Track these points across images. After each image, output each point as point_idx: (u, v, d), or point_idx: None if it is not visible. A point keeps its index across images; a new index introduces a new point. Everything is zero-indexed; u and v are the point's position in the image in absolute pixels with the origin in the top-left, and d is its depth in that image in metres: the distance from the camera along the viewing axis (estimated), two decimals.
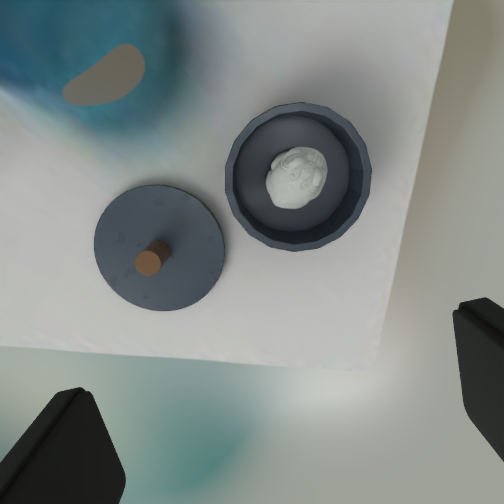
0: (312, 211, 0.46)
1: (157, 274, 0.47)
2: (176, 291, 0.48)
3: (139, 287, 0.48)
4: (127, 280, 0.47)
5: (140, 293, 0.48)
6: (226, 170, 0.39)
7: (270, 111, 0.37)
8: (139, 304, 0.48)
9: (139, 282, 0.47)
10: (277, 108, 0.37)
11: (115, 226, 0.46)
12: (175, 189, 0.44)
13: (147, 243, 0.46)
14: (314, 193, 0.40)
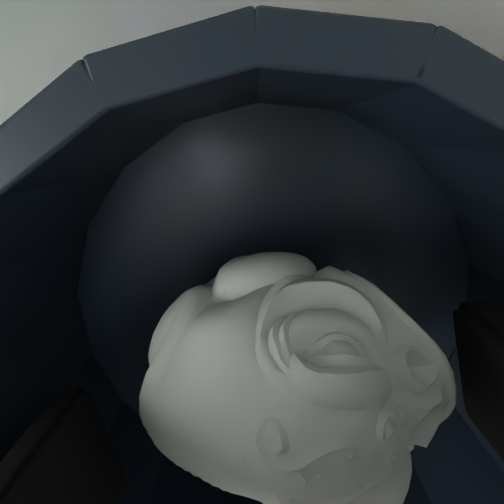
0: None
1: None
2: None
3: None
4: None
5: None
6: None
7: (391, 32, 0.05)
8: None
9: None
10: (441, 44, 0.05)
11: None
12: None
13: None
14: None
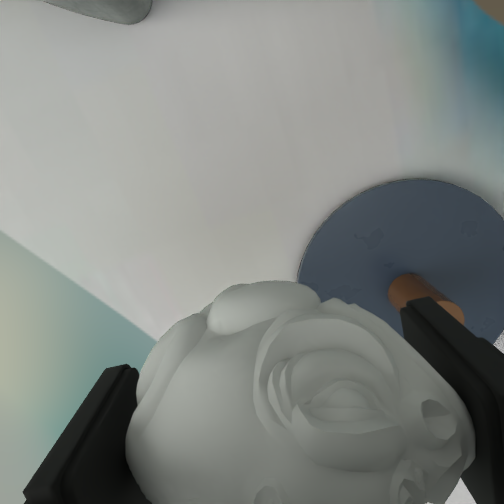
0: None
1: None
2: None
3: None
4: None
5: None
6: None
7: None
8: None
9: None
10: None
11: (380, 217, 0.26)
12: None
13: (401, 271, 0.27)
14: None
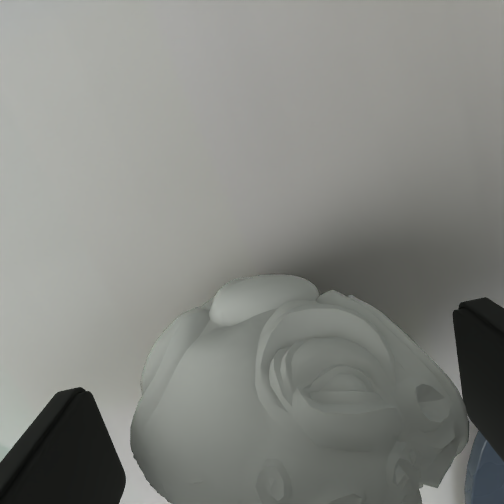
0: None
1: None
2: None
3: None
4: None
5: None
6: None
7: None
8: None
9: None
10: None
11: None
12: None
13: None
14: None
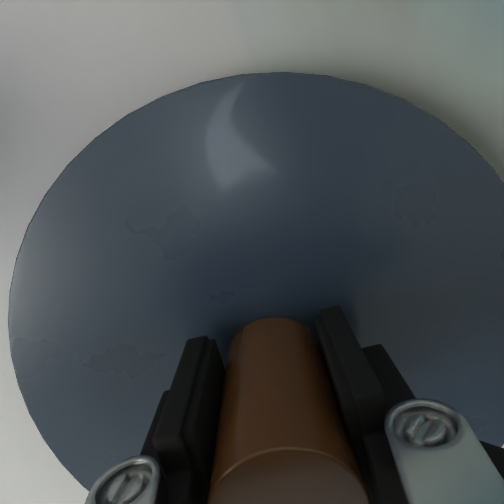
0: None
1: None
2: None
3: (117, 425, 0.12)
4: (91, 381, 0.12)
5: (105, 445, 0.12)
6: None
7: None
8: (78, 471, 0.12)
9: (129, 411, 0.12)
10: None
11: (185, 178, 0.10)
12: None
13: (255, 312, 0.11)
14: None
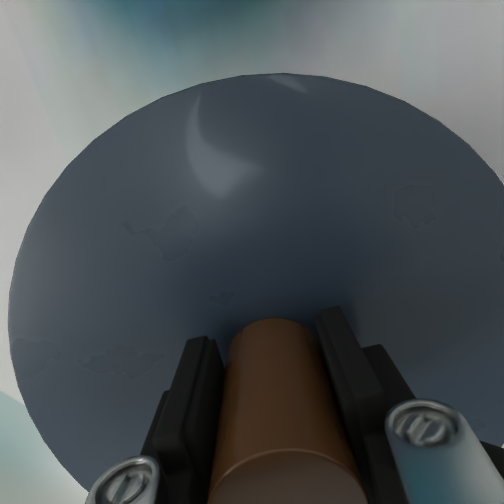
0: None
1: None
2: None
3: (116, 425, 0.12)
4: (90, 382, 0.12)
5: (105, 445, 0.12)
6: None
7: None
8: (78, 471, 0.12)
9: (128, 412, 0.12)
10: None
11: (184, 179, 0.10)
12: None
13: (255, 313, 0.11)
14: None
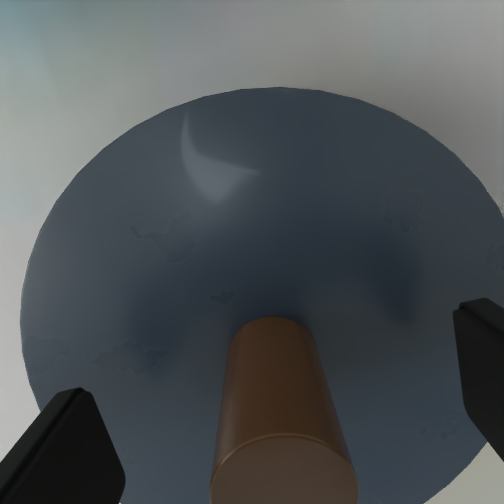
0: None
1: (210, 418, 0.13)
2: None
3: (122, 419, 0.13)
4: (98, 377, 0.12)
5: (111, 438, 0.13)
6: None
7: None
8: None
9: (134, 406, 0.12)
10: None
11: (188, 185, 0.11)
12: (492, 205, 0.11)
13: (254, 311, 0.12)
14: None
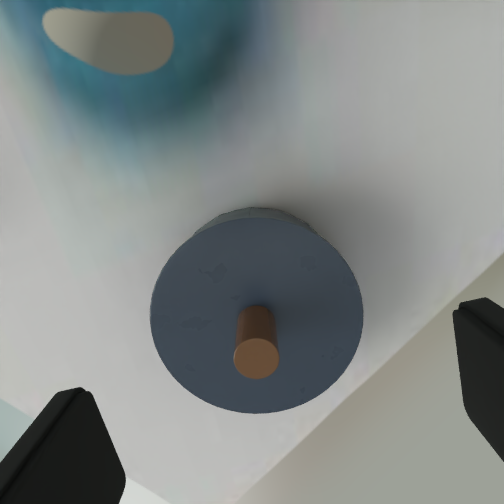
0: None
1: (229, 350, 0.29)
2: (237, 385, 0.30)
3: (191, 350, 0.29)
4: (181, 331, 0.29)
5: (185, 359, 0.29)
6: None
7: None
8: (173, 371, 0.29)
9: (196, 344, 0.29)
10: None
11: (222, 253, 0.27)
12: (343, 261, 0.27)
13: (248, 303, 0.28)
14: None
